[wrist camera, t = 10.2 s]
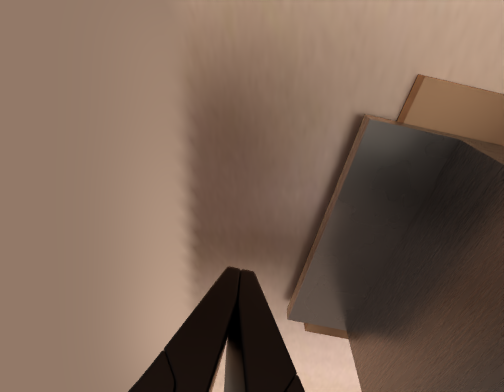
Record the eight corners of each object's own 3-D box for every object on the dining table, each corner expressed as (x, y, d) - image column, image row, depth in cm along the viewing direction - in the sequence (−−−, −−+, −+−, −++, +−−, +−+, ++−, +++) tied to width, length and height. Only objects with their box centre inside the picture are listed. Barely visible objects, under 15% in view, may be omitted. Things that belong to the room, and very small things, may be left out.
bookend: (504, 146, 10) (871, 325, 4) (381, 327, 15) (456, 531, 9) (364, 114, 10) (519, 251, 4) (286, 309, 15) (296, 505, 9)
